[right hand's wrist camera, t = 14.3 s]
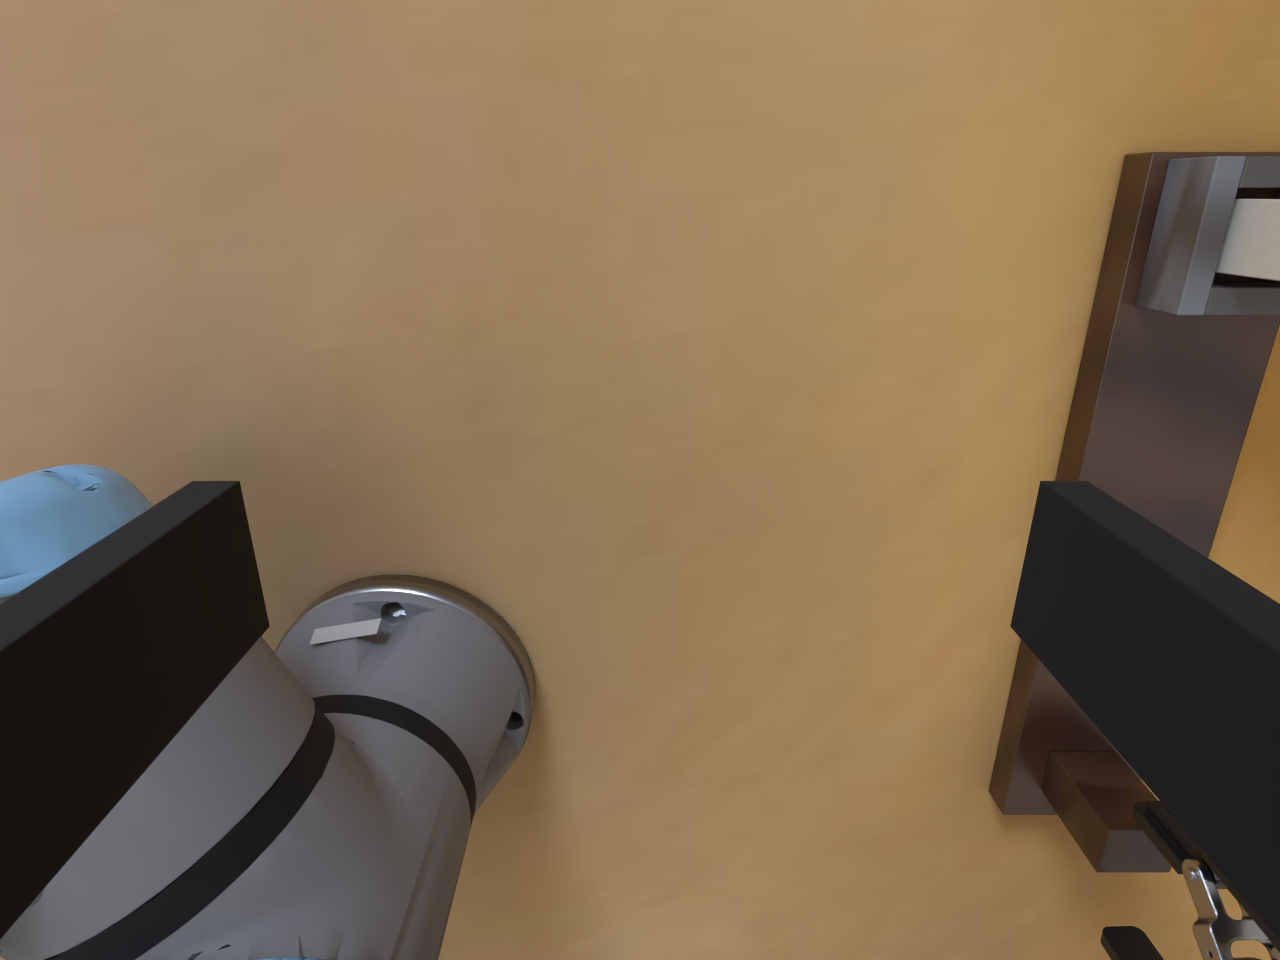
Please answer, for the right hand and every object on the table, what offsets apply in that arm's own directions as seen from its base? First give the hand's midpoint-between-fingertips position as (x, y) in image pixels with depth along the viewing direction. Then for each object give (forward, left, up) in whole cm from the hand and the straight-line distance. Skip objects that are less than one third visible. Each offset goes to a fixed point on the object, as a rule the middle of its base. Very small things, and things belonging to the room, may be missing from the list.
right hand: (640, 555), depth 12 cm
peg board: (+13, -26, -27) cm, 40 cm away
